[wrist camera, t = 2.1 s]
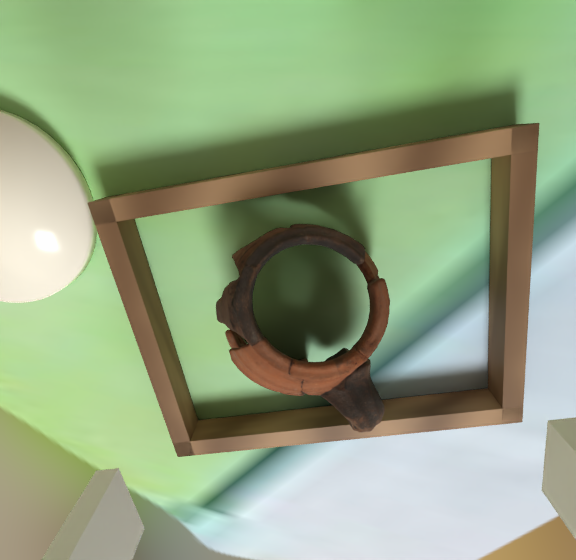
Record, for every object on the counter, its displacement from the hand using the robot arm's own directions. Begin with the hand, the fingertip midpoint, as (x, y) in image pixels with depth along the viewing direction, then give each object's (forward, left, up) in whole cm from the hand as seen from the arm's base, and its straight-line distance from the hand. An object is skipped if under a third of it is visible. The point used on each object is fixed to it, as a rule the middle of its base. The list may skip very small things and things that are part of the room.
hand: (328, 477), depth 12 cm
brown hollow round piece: (+1, 0, -13) cm, 13 cm away
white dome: (+17, -9, -12) cm, 23 cm away
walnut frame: (0, 0, -12) cm, 12 cm away
